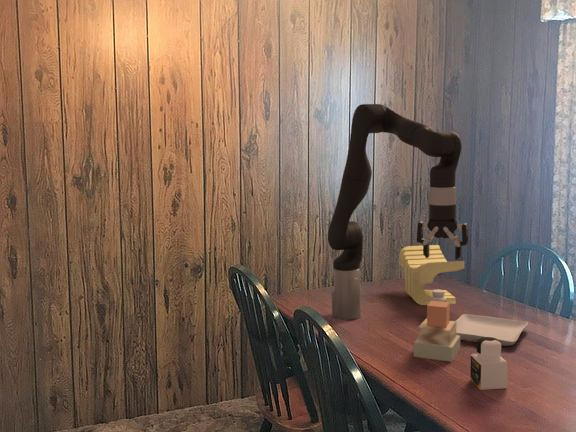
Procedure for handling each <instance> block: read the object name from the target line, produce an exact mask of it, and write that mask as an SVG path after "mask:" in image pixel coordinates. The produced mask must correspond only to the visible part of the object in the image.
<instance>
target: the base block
mask: <svg viewBox="0 0 576 432" xmlns="http://www.w3.org/2000/svg"><path fill="white" fill-rule="evenodd" d="M459 351H461V339H460V336H459V335H456V338H455V339H454V340H453V342H452V343H451V345H450V346H446V345H437V344H429V343H421V342H418V338H416V339H415V341H414V342H413V357H415V358H419V359H420V358H421V359H428V360H429V359H430V360H437V361H443V362H453V361H454V359H455V358H456V356H457V355H458V353H460V352H459Z"/></svg>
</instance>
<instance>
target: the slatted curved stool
mask: <svg viewBox="0 0 576 432" xmlns="http://www.w3.org/2000/svg"><path fill="white" fill-rule="evenodd" d="M398 259H399V260H398V265H399V266H401V267H402V270H403V271H404V284H405V292H406V293H407V295H408V296H409V297H410V298H412V300H413V301H414V302H416V304H418V305H421V306H427V305H428V304H429V303H430V298H431V297H432V296H433V295H432V291H433V290H434V289H425V286H426V284H427V285H429V284H433V281H434V279H435V277H436V276H437V275H438V274H441V273H442V274H443V273H449V272H450V273H451V272H458V271H460V270H464V269H465V260H455V261H447V258H445V255H444V254H443V252H442V250H441V247H440V245H439V244H431V245H430V244H429V257H428V258H425V256H424V255H423V245H408V246H404V247H403V248H401V250H400V252H399V254H398ZM443 290H444V297H446V300H447V302H450V305H451V304H453V305H455V304H457V300H456V297H455V296H454V295H452V294H451V293H450V292H449V291H448V290H446V289H443Z"/></svg>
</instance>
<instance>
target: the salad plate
mask: <svg viewBox="0 0 576 432" xmlns="http://www.w3.org/2000/svg"><path fill="white" fill-rule="evenodd" d="M455 321H456V335H459V336H460V341H461V340H462V341H465V342H466V341H467V342H474V343H477V340H478V339H480V338H483V337H493V338H496V339H498V340H500V341H501V347H509V346H513V345H515V344H516V342H517V341H518V339H519V337H520V335H521V333H522V332H523V331H524V330H525V329H527V327H528V325H529V322H528V321H522V320H516V319H509V318H503V317H502V318H501V317H495V316H488V315H487V316H486V315H477V314H470V313H469V314H468V313H463V314H462V315H460V316H459V317H458V318H457V319H455Z"/></svg>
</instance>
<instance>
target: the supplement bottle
mask: <svg viewBox="0 0 576 432" xmlns="http://www.w3.org/2000/svg"><path fill="white" fill-rule="evenodd" d="M432 290H433V291H432V295H433V296H432V297H431V298H430V301H441V302H447V300H446V297H444V290H445V289H439V288H437V289H432Z"/></svg>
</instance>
